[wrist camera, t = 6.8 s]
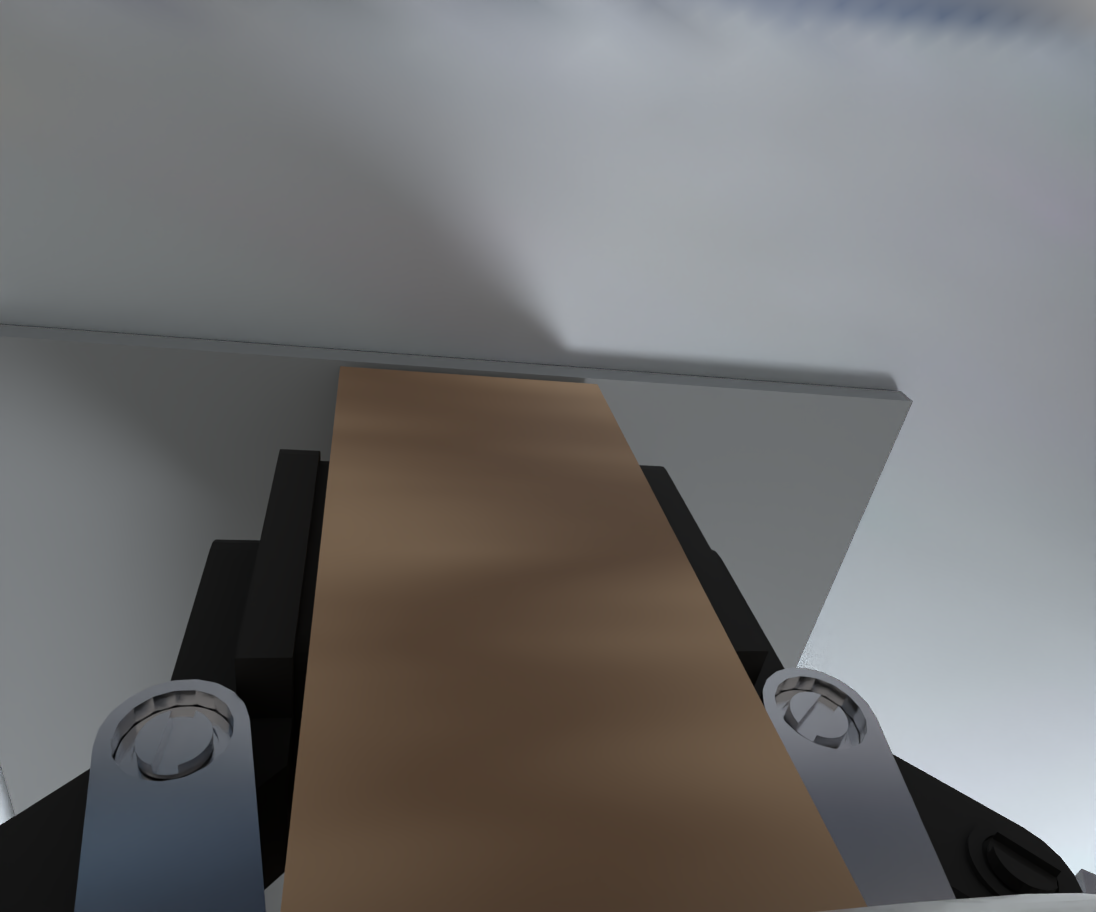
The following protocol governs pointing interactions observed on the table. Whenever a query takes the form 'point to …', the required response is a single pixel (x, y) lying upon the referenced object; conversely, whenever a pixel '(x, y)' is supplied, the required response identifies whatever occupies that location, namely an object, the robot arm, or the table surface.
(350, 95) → the table surface
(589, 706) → the tan wooden mallet shape
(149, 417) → the mat
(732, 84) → the table surface
